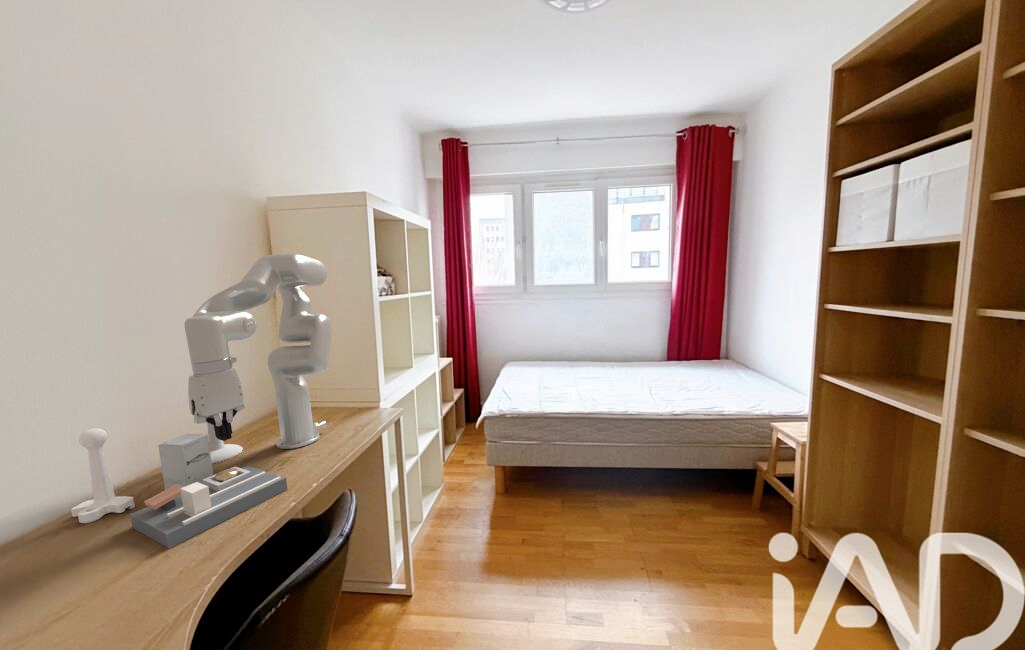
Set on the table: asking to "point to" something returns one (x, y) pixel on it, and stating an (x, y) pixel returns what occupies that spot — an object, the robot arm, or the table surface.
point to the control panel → (226, 502)
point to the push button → (226, 475)
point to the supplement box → (185, 460)
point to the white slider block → (195, 498)
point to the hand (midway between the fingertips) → (224, 438)
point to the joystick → (99, 482)
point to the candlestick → (220, 447)
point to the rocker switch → (164, 497)
